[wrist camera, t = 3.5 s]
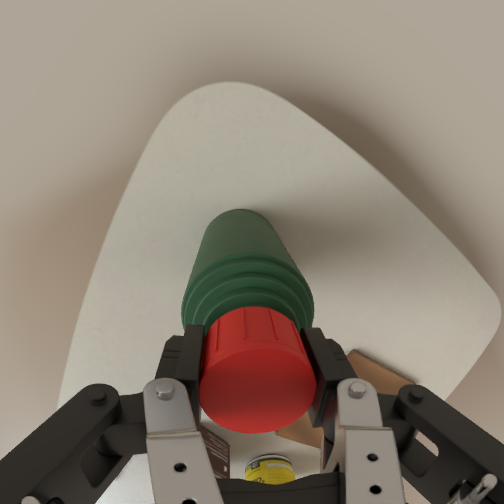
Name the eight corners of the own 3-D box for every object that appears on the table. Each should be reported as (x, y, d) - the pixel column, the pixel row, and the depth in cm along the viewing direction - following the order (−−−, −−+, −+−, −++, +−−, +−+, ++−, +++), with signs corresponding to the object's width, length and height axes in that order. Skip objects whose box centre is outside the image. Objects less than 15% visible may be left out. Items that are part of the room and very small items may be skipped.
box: (230, 443, 34) (232, 489, 27) (197, 460, 35) (194, 503, 28) (195, 420, 33) (191, 468, 26) (162, 438, 34) (154, 483, 26)
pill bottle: (265, 447, 35) (275, 521, 24) (301, 460, 36) (317, 527, 25) (235, 469, 36) (238, 538, 25) (270, 481, 38) (280, 544, 26)
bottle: (228, 194, 26) (225, 262, 9) (291, 235, 27) (383, 354, 10) (188, 257, 27) (134, 403, 10) (250, 293, 29) (276, 459, 11)
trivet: (352, 349, 31) (355, 353, 30) (414, 382, 34) (417, 386, 33) (275, 430, 34) (275, 434, 33) (343, 451, 36) (344, 455, 36)
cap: (237, 287, 12) (240, 326, 9) (319, 334, 12) (340, 377, 10) (186, 360, 12) (177, 408, 10) (264, 397, 13) (271, 444, 10)
